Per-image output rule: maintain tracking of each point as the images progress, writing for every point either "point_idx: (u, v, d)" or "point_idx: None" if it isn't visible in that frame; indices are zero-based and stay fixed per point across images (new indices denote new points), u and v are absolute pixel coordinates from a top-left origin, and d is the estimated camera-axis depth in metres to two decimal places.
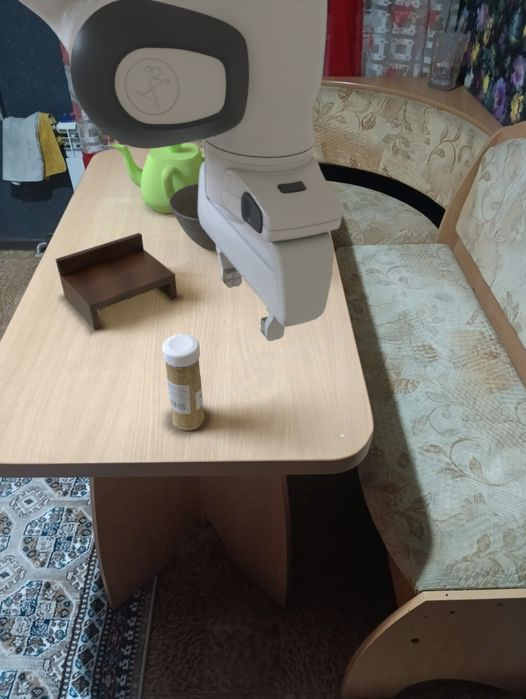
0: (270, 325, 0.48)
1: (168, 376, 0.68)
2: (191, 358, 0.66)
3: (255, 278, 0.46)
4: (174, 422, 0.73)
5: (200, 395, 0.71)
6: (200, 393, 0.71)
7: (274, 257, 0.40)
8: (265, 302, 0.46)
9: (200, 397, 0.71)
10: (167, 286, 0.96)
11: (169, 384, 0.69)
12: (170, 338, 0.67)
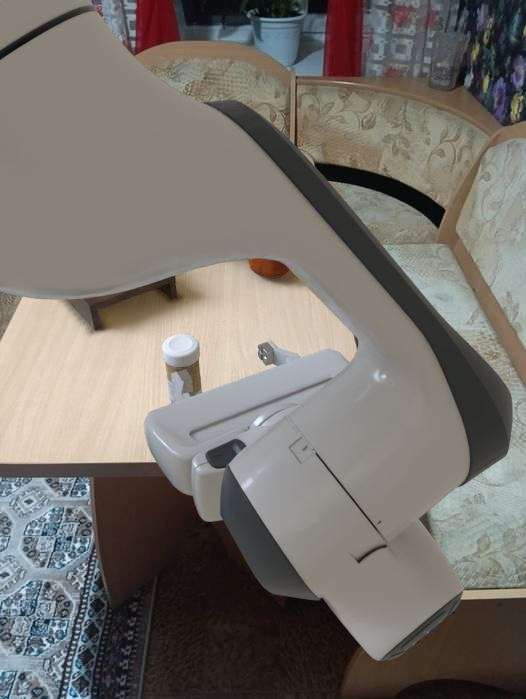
0: (176, 387, 0.50)
1: (168, 376, 0.68)
2: (191, 358, 0.66)
3: (210, 402, 0.47)
4: None
5: None
6: None
7: (184, 451, 0.42)
8: (182, 402, 0.47)
9: None
10: (167, 286, 0.96)
11: (169, 384, 0.69)
12: (170, 338, 0.67)
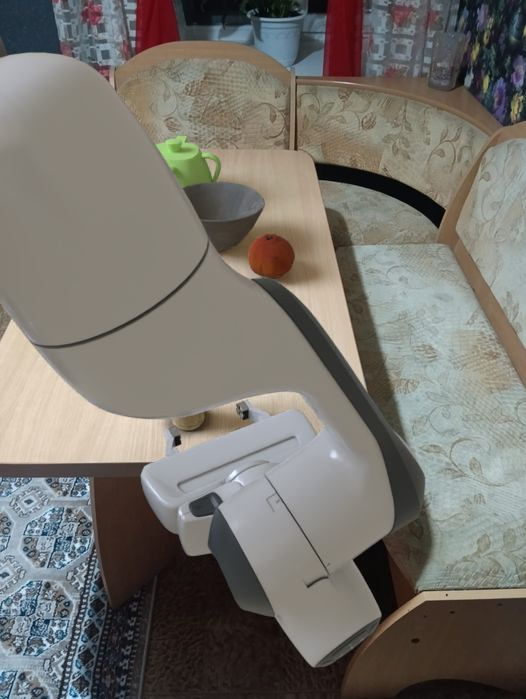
0: (167, 442, 0.61)
1: None
2: None
3: (194, 458, 0.58)
4: (174, 422, 0.73)
5: None
6: None
7: (172, 501, 0.53)
8: (172, 457, 0.58)
9: None
10: None
11: None
12: None
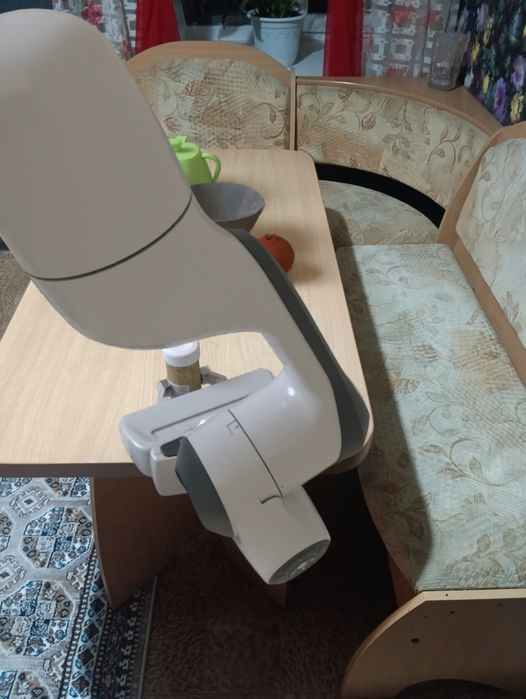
0: (159, 392, 0.67)
1: (168, 376, 0.68)
2: (191, 358, 0.66)
3: (167, 409, 0.64)
4: None
5: None
6: None
7: (146, 444, 0.59)
8: (147, 409, 0.64)
9: None
10: None
11: None
12: None
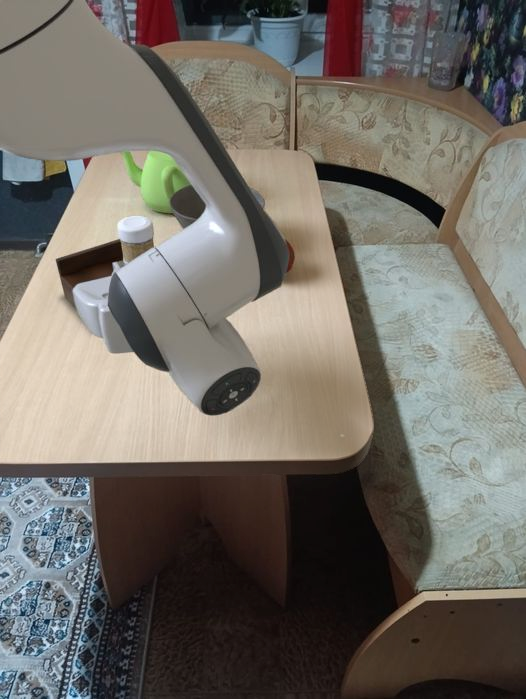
0: None
1: (124, 256, 0.72)
2: (144, 234, 0.69)
3: None
4: None
5: None
6: None
7: (95, 302, 0.62)
8: (101, 279, 0.68)
9: None
10: None
11: None
12: (125, 218, 0.71)
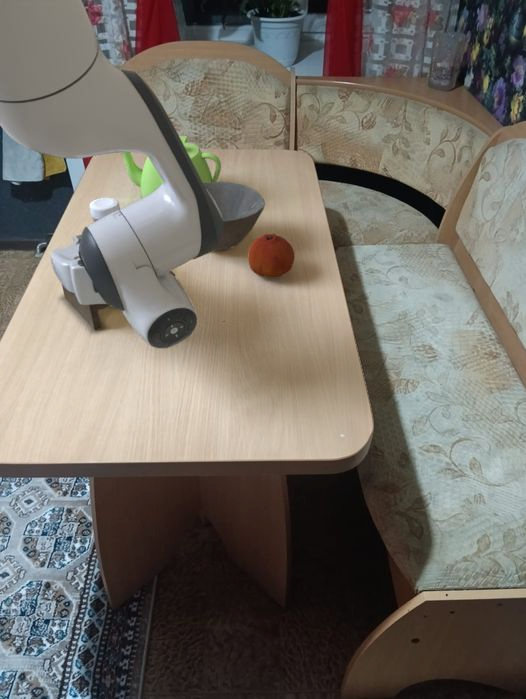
0: (73, 242, 0.85)
1: None
2: (112, 212, 0.84)
3: None
4: None
5: None
6: None
7: (67, 262, 0.77)
8: (73, 245, 0.82)
9: None
10: None
11: None
12: (96, 199, 0.86)
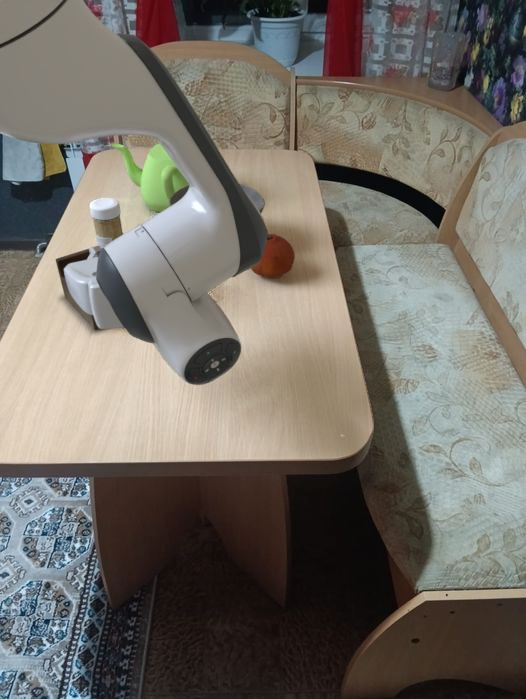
0: (90, 254, 0.74)
1: (96, 231, 0.87)
2: (112, 212, 0.84)
3: None
4: None
5: None
6: None
7: (85, 279, 0.66)
8: (91, 259, 0.71)
9: None
10: None
11: (97, 238, 0.88)
12: (96, 199, 0.86)
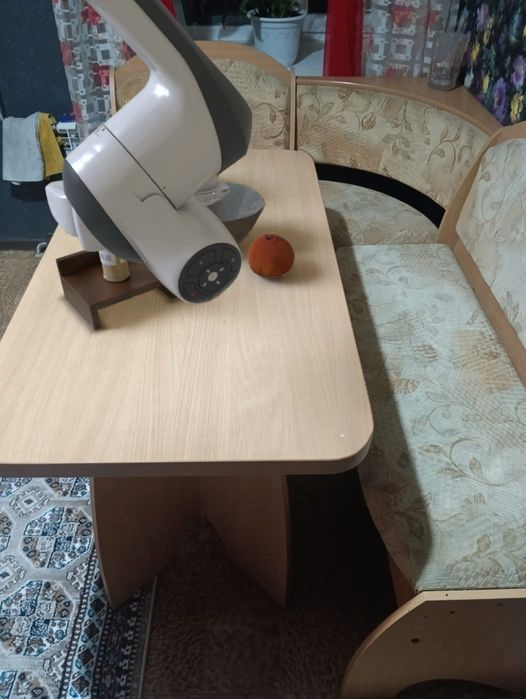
0: None
1: None
2: None
3: None
4: (104, 276, 0.92)
5: None
6: None
7: None
8: None
9: None
10: None
11: None
12: None
